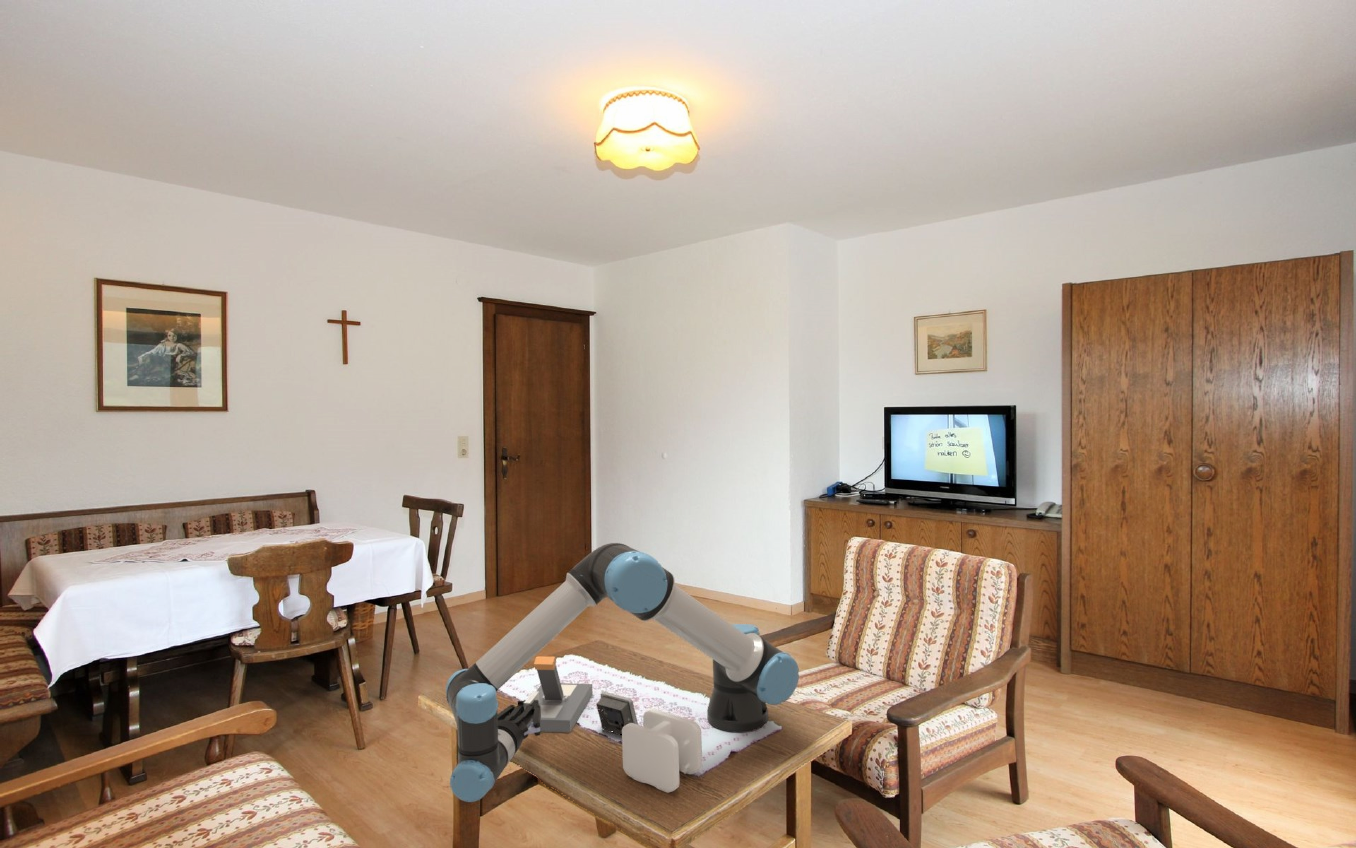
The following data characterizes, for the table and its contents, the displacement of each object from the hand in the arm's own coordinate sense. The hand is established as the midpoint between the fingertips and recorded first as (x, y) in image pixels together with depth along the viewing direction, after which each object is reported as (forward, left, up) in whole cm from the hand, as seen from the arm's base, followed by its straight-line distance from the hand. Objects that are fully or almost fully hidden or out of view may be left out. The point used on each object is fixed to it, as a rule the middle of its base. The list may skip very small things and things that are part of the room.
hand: (536, 697), depth 168 cm
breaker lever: (+12, -7, -6) cm, 15 cm away
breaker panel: (+12, -7, -10) cm, 17 cm away
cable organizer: (-29, -20, -10) cm, 37 cm away
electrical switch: (-6, -18, -10) cm, 22 cm away
